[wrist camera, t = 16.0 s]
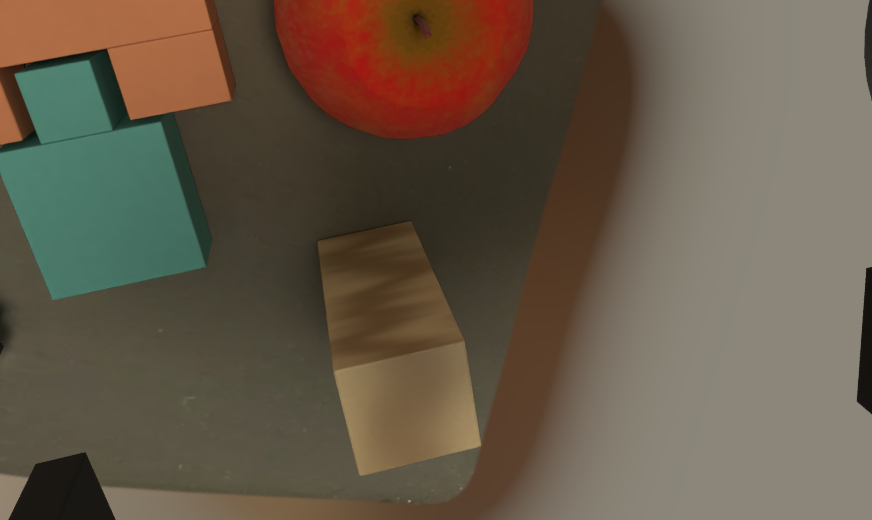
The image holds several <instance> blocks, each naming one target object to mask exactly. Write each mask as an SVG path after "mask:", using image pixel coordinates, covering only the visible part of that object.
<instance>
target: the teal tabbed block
mask: <svg viewBox="0 0 872 520" xmlns="http://www.w3.org/2000/svg"><path fill="white" fill-rule="evenodd" d="M15 78H16V81H17V83H18V86H19V88H20V91H21V94H22V96H23V99H24V101H25V104H26V107H27V109H28V112H29V114H30V117H31V120H32V122H33V125H34V127H35V130H36V131H33V132H32V133H30V134H29V135H28V136H27V137H26V138H25V139H23V140H22V141H19V142H13V143H8V144H5V145H4V146H3V147H1V148H0V175H1V177H2V179H3V182H4V184H5V187H6V189H7V192H8V194H9V196H10V199H11V201H12V204H13V206H14V208H15V211H16V213H17V216H18V218H19V220H20V223H21V225H22V228H23V230H24V233H25V235H26V237H27V240H28V242H29V245H30V247H31V249H32V252H33V254H34V257H35V259H36V261H37V264H38V266H39V269H40V271H41V273H42V276H43V278H44V281H45V283H46V286H47V288H48V290H49V293H50V295H51V298H52V300H57V299H61V298H66V297H71V296H75V295H80V294H85V293H89V292H94V291H98V290H103V289H108V288H112V287H117V286H122V285H126V284H131V283H136V282H140V281H145V280H149V279H154V278H159V277H163V276H168V275H173V274H177V273H182V272H186V271H191V270H196V269H200V268H205V267H206V264H207V260H208V255H209V250H210V245H211V240H212V239H211V235H210V232H209V229H208V225H207V222H206V219H205V215H204V212H203V209H202V206H201V202H200V199H199V196H198V192H197V189H196V186H195V183H194V179H193V176H192V173H191V169H190V166H189V163H188V160H187V156H186V153H185V150H184V146H183V143H182V140H181V136H180V133H179V130H178V127H177V123H176V120H175V117H174V113H173V112H171V113H165V114H160V115H155V116H150V117H145V118H139V119H134V120H130V118H129V114H128V113H127V111H126V108H125V104H124V101H123V98H122V95H121V92H120V89H119V86H118V83H117V80H116V77H115V74H114V71H113V68H112V65H111V62H110V59H109V56H108V53H107V50H106V49H102V50H97V51H91V52H86V53H80V54H75V55H69V56H64V57H58V58H53V59H47V60H42V61H36V62H34V63H32V64H31V65H29V66H27V67H26V68H24V69H22V70H20V71H19V72H17V73H15Z"/></svg>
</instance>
